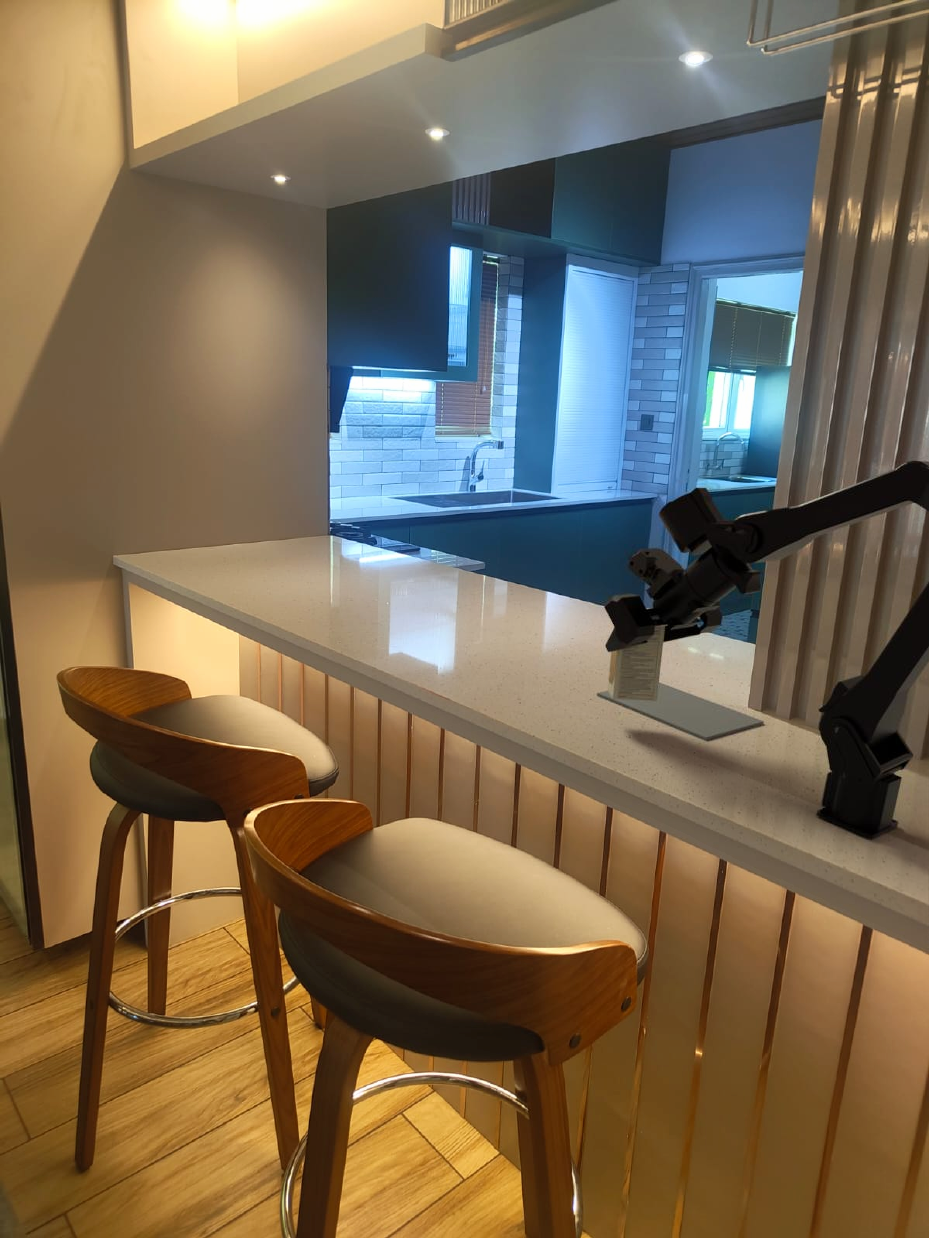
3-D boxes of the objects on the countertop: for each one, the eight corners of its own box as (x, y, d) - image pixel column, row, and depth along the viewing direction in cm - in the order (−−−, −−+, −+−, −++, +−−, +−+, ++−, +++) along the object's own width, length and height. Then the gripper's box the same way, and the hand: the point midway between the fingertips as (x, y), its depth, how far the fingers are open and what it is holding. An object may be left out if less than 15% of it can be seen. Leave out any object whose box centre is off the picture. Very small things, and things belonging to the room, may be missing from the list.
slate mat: (763, 723, 127) (763, 721, 127) (705, 740, 118) (705, 737, 118) (655, 683, 142) (655, 681, 142) (596, 695, 133) (597, 692, 133)
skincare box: (649, 692, 123) (661, 607, 120) (657, 702, 118) (669, 615, 116) (604, 689, 122) (614, 604, 119) (610, 699, 118) (621, 611, 115)
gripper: (716, 529, 118) (642, 592, 129) (625, 533, 107) (552, 601, 117) (758, 598, 114) (678, 657, 125) (668, 609, 102) (588, 673, 113)
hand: (625, 646), depth 120 cm, fingers closed on skincare box, 7 cm apart
